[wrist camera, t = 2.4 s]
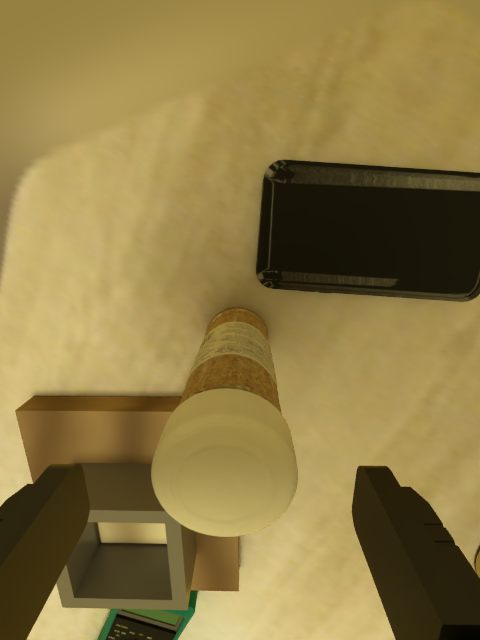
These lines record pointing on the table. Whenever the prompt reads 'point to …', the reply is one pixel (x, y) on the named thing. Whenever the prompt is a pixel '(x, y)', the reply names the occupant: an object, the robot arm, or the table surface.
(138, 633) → the digital multimeter
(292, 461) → the sprinkles bottle
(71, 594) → the socket sleeve
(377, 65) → the table surface
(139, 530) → the socket board
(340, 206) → the phone
